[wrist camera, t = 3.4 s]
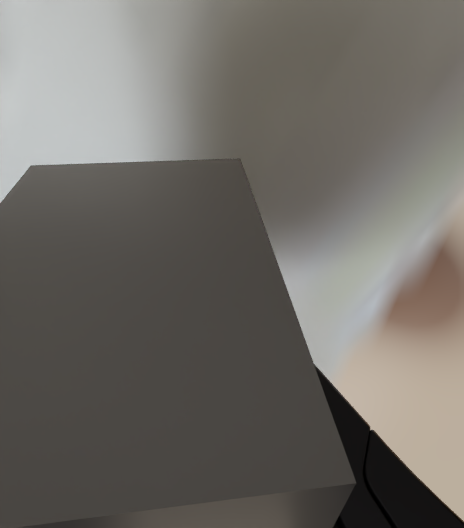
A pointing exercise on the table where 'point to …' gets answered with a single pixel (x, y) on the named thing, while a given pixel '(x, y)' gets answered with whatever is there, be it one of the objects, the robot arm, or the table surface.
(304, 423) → the grey ice pop
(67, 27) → the table surface
